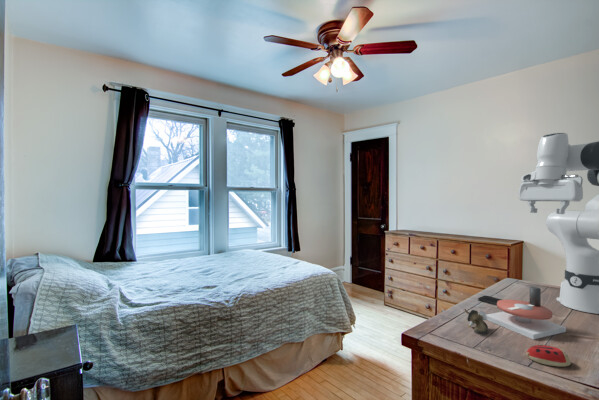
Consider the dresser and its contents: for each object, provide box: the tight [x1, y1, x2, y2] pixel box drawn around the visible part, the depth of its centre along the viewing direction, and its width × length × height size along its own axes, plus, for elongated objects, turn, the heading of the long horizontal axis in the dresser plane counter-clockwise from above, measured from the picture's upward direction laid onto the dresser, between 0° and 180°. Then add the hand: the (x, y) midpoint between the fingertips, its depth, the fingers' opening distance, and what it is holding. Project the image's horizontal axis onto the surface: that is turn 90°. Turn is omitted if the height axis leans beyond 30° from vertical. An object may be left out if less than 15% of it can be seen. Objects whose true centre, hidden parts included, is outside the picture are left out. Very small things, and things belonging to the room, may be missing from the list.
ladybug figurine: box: [525, 344, 571, 368], centre depth 77 cm, size 7×10×4 cm
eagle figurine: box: [463, 308, 489, 336], centre depth 96 cm, size 8×7×9 cm
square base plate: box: [485, 311, 567, 340], centre depth 99 cm, size 16×16×4 cm
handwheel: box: [496, 286, 553, 321], centre depth 99 cm, size 15×15×7 cm
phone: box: [477, 295, 503, 307], centre depth 119 cm, size 8×1×15 cm
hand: (546, 213), depth 106 cm, fingers open, 8 cm apart
